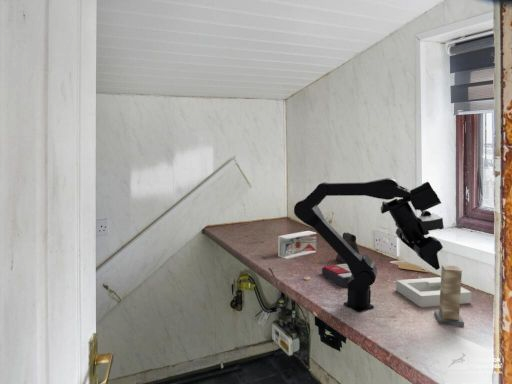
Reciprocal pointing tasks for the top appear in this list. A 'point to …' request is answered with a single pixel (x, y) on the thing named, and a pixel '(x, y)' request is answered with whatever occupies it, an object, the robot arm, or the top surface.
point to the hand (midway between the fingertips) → (430, 262)
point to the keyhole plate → (426, 291)
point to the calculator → (338, 274)
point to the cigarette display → (296, 244)
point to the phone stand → (351, 241)
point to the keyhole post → (450, 296)
